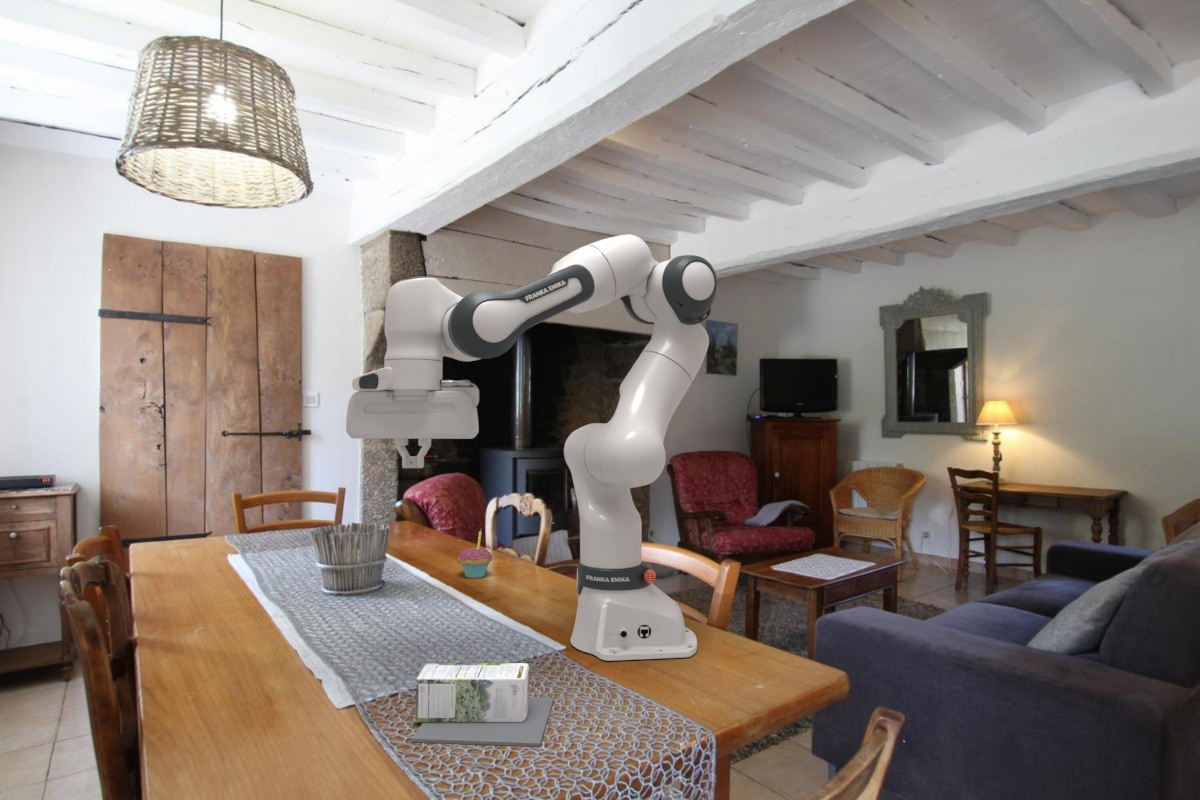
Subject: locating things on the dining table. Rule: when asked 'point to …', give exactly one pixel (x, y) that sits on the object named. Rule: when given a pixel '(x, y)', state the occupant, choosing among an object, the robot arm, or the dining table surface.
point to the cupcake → (475, 560)
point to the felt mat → (491, 729)
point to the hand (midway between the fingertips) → (413, 468)
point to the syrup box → (472, 692)
